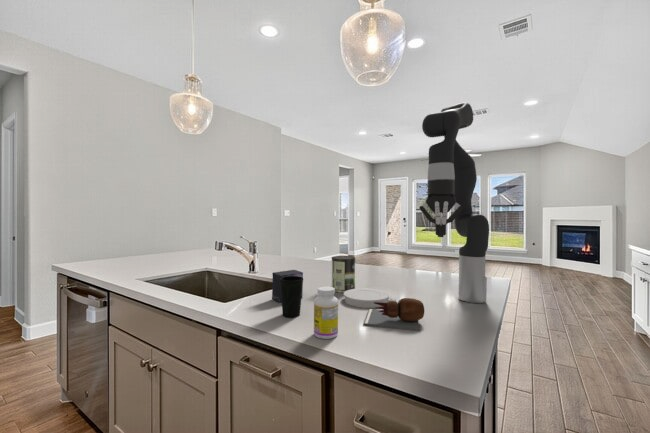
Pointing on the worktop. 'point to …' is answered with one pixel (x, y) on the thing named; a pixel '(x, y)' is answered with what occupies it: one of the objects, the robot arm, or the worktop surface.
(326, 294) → the supplement bottle
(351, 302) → the lid
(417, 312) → the wooden figurine
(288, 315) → the cup
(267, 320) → the worktop surface
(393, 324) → the book
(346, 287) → the coffee can
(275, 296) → the small box
